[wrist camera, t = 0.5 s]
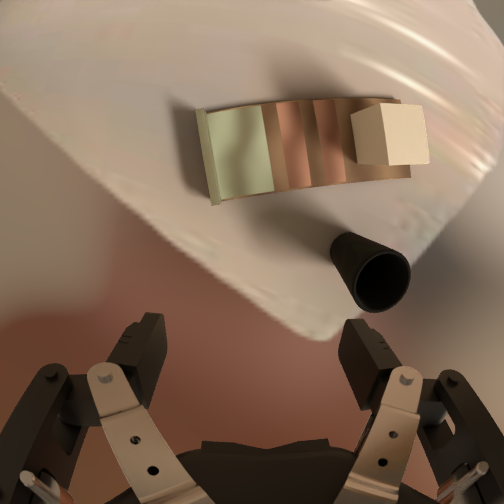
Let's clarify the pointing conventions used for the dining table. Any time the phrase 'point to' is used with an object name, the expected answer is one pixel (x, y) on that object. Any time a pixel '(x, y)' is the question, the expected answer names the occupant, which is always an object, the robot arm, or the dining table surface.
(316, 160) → the track
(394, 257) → the cup
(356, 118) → the block
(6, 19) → the dining table surface
